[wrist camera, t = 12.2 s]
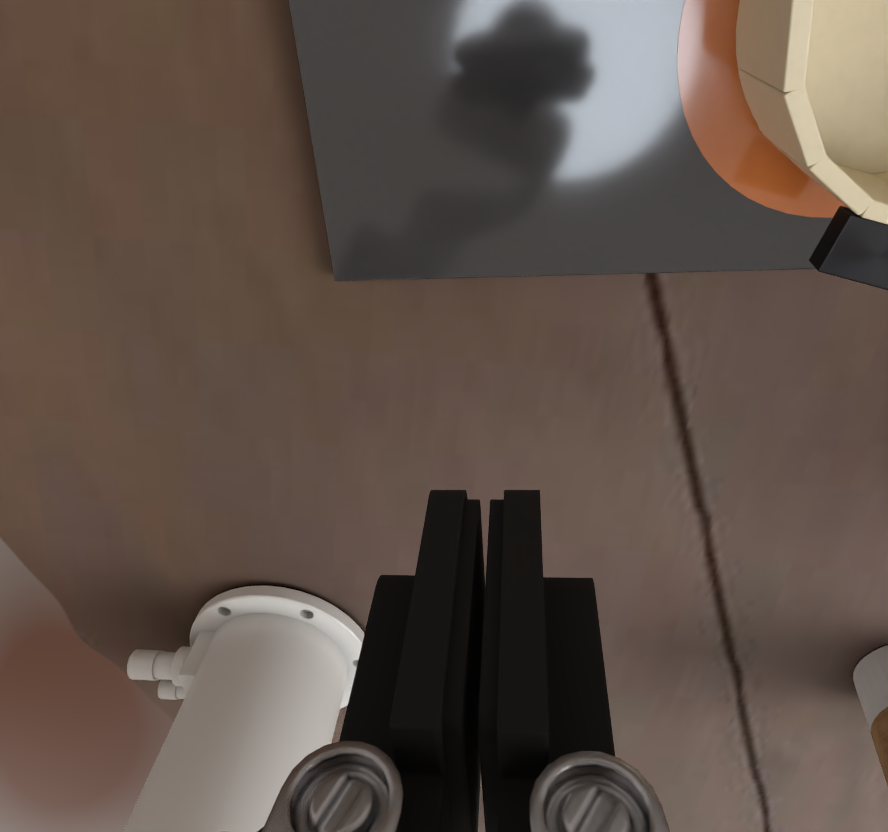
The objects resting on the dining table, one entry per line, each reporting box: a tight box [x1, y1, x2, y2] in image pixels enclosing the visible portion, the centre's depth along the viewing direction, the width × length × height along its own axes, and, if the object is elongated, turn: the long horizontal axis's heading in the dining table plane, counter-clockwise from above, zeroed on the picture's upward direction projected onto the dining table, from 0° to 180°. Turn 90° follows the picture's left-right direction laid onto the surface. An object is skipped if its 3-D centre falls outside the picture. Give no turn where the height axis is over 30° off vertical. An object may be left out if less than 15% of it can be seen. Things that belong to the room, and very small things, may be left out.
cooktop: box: [288, 0, 848, 281], centre depth 25 cm, size 28×18×1 cm, turn 94°
